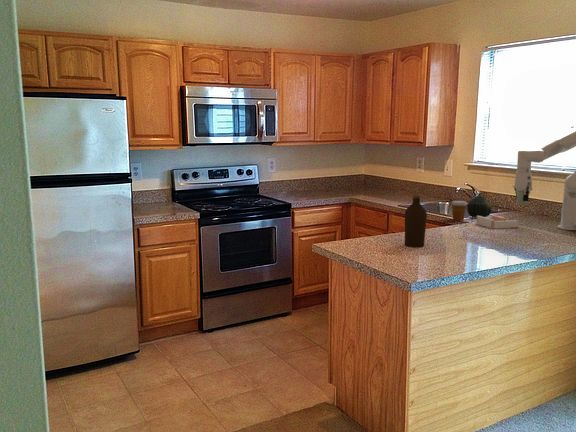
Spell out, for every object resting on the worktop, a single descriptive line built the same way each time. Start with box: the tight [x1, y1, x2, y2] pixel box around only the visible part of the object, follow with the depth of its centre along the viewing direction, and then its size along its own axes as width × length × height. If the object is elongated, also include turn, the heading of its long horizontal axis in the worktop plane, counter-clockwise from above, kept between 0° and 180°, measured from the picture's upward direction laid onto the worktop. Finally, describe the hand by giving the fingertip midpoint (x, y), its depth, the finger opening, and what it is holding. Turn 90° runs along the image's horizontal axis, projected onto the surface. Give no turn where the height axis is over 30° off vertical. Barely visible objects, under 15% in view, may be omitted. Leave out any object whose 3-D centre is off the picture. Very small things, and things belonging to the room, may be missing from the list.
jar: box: [515, 189, 528, 205], centre depth 308 cm, size 6×6×9 cm
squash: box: [466, 194, 493, 218], centre depth 337 cm, size 14×15×15 cm
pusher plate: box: [490, 214, 508, 221], centre depth 307 cm, size 12×2×5 cm, turn 14°
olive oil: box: [404, 194, 428, 248], centre depth 251 cm, size 11×11×25 cm
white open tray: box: [475, 215, 519, 229], centre depth 307 cm, size 15×17×5 cm
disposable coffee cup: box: [450, 200, 468, 222], centre depth 324 cm, size 10×10×12 cm
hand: (521, 200), depth 308 cm, fingers closed on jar, 6 cm apart
